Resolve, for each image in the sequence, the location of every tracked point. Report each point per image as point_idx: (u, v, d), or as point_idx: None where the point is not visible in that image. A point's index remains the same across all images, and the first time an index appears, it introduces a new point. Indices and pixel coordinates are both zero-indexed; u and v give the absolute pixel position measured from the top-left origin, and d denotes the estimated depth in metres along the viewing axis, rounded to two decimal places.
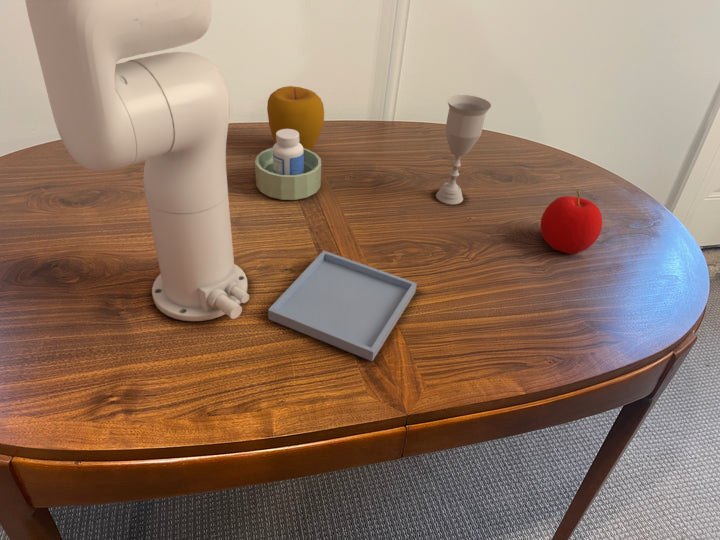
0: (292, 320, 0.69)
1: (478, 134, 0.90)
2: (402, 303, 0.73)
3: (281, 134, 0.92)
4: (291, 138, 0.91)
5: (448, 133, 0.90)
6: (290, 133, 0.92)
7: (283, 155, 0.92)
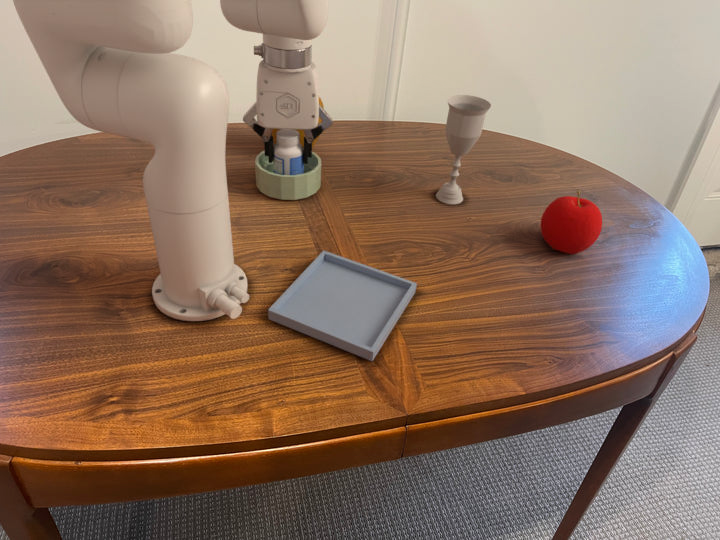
0: (292, 320, 0.69)
1: (478, 134, 0.90)
2: (402, 303, 0.73)
3: (282, 134, 0.92)
4: (291, 138, 0.91)
5: (448, 133, 0.90)
6: (290, 133, 0.92)
7: (283, 155, 0.92)
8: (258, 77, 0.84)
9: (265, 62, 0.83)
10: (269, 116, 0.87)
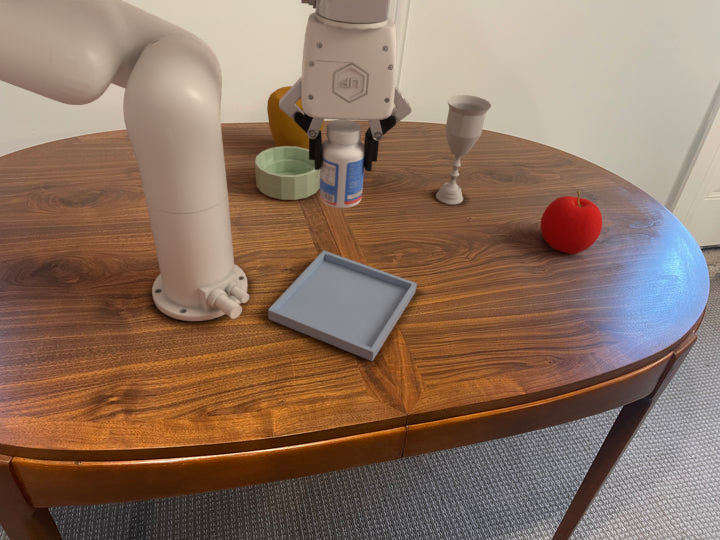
0: (292, 320, 0.69)
1: (478, 134, 0.90)
2: (402, 303, 0.73)
3: (335, 127, 0.62)
4: (351, 133, 0.61)
5: (448, 133, 0.90)
6: (348, 126, 0.63)
7: (338, 158, 0.62)
8: (307, 38, 0.54)
9: (319, 14, 0.53)
10: (321, 100, 0.57)
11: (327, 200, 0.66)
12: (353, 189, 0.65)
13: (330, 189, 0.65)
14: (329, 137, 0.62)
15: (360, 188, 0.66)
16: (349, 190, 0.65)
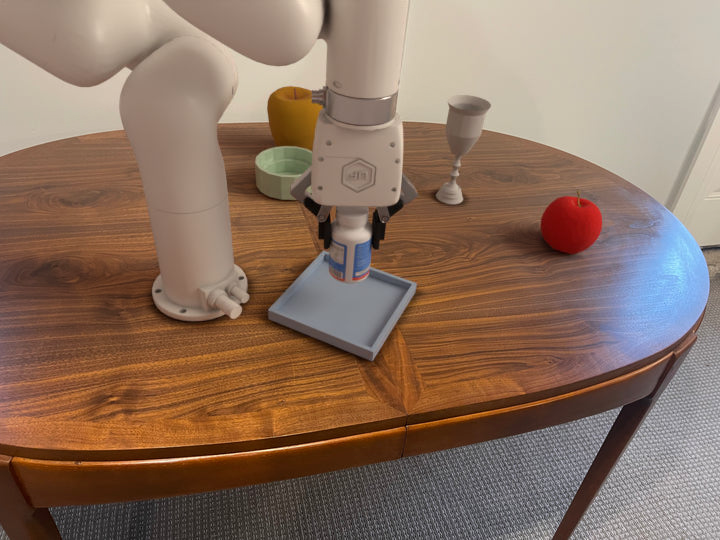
0: (292, 320, 0.69)
1: (478, 134, 0.90)
2: (402, 303, 0.73)
3: (344, 210, 0.64)
4: (359, 217, 0.63)
5: (448, 133, 0.90)
6: (356, 208, 0.64)
7: (347, 240, 0.64)
8: (317, 136, 0.56)
9: (329, 115, 0.55)
10: (330, 190, 0.59)
11: (336, 276, 0.68)
12: (361, 266, 0.67)
13: (338, 267, 0.67)
14: (338, 220, 0.64)
15: (368, 264, 0.68)
16: (357, 268, 0.67)
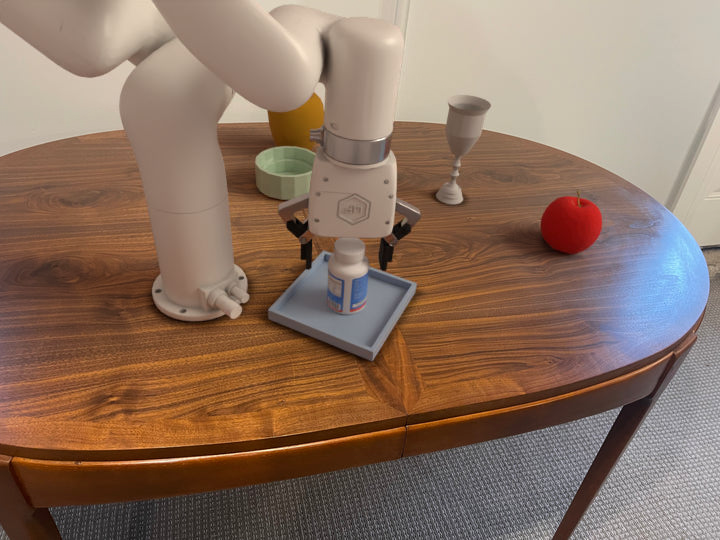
0: (292, 320, 0.69)
1: (478, 134, 0.90)
2: (402, 303, 0.73)
3: (342, 247, 0.67)
4: (356, 254, 0.66)
5: (448, 133, 0.90)
6: (353, 245, 0.68)
7: (344, 275, 0.67)
8: (315, 173, 0.59)
9: (326, 153, 0.58)
10: (326, 222, 0.62)
11: (334, 307, 0.72)
12: (358, 299, 0.70)
13: (336, 299, 0.70)
14: (336, 256, 0.67)
15: (364, 296, 0.71)
16: (354, 300, 0.70)
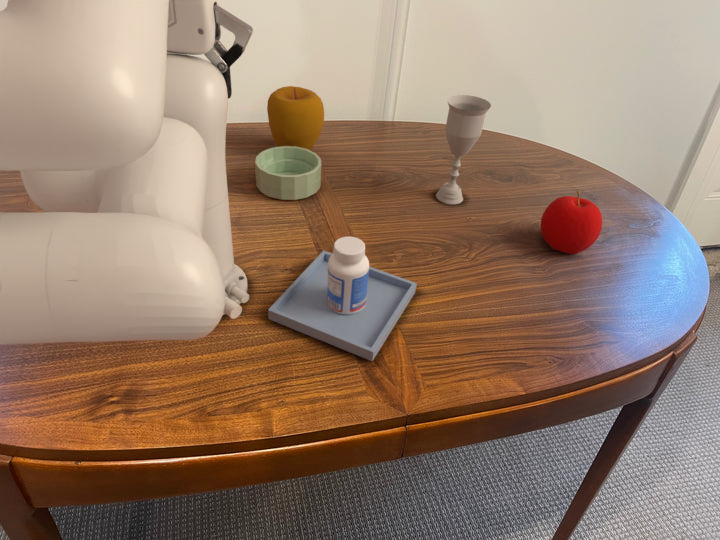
0: (292, 320, 0.69)
1: (478, 134, 0.90)
2: (402, 303, 0.73)
3: (342, 247, 0.67)
4: (356, 254, 0.66)
5: (448, 133, 0.90)
6: (353, 245, 0.68)
7: (344, 275, 0.67)
8: None
9: None
10: None
11: (334, 307, 0.72)
12: (358, 299, 0.70)
13: (336, 299, 0.70)
14: (336, 256, 0.67)
15: (364, 296, 0.71)
16: (354, 300, 0.70)
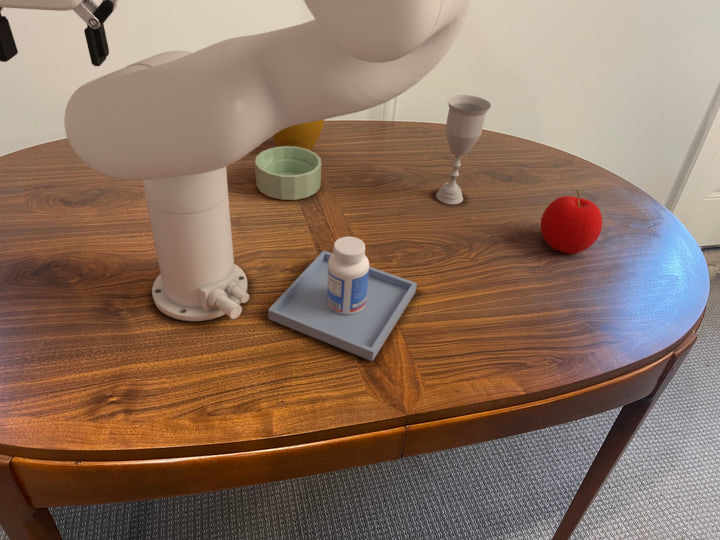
0: (292, 320, 0.69)
1: (478, 134, 0.90)
2: (402, 303, 0.73)
3: (342, 247, 0.67)
4: (356, 254, 0.66)
5: (448, 133, 0.90)
6: (353, 245, 0.68)
7: (344, 275, 0.67)
8: None
9: None
10: None
11: (334, 307, 0.72)
12: (358, 299, 0.70)
13: (336, 299, 0.70)
14: (336, 256, 0.67)
15: (364, 296, 0.71)
16: (354, 300, 0.70)
